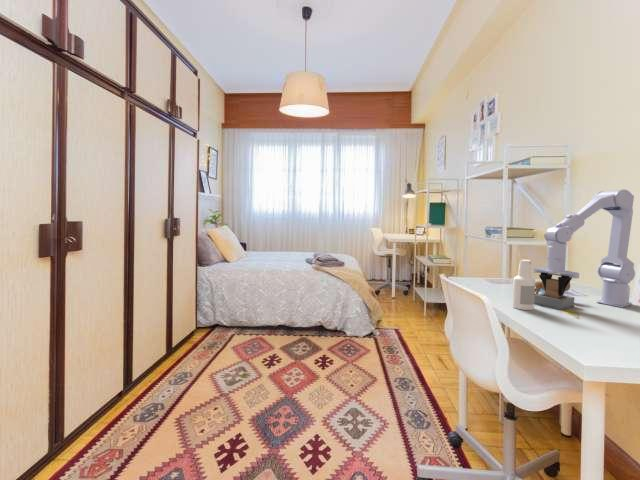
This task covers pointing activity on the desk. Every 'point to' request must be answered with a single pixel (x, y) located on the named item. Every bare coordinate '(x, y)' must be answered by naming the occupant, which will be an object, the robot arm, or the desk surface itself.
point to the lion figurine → (540, 285)
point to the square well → (554, 301)
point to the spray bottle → (524, 287)
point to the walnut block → (552, 288)
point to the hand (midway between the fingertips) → (554, 293)
